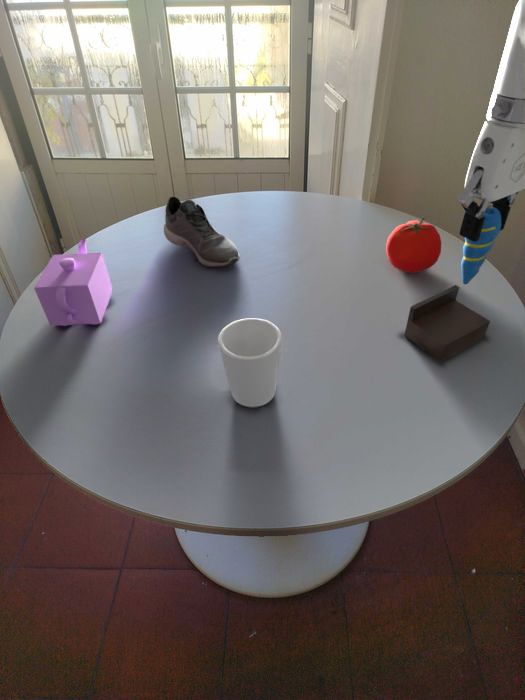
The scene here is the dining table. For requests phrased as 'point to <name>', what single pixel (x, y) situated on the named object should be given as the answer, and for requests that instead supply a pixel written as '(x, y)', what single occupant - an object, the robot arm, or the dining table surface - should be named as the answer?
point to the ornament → (480, 244)
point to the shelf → (444, 324)
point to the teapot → (75, 288)
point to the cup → (251, 360)
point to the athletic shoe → (197, 234)
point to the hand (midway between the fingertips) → (481, 231)
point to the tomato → (413, 246)
